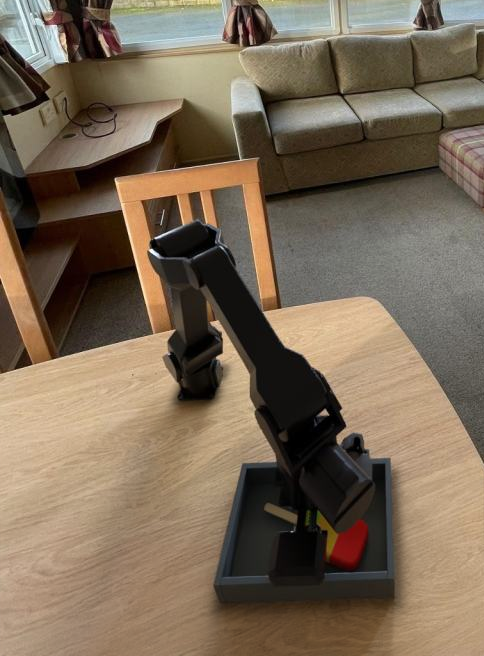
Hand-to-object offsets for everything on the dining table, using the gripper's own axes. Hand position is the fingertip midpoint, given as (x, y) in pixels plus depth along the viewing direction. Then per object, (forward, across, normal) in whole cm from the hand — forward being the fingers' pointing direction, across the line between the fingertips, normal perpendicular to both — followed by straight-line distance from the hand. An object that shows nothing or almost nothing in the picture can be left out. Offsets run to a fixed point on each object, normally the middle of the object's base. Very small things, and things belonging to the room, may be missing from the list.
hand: (311, 525), depth 65 cm
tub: (+2, 0, 0) cm, 2 cm away
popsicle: (+1, 0, 0) cm, 1 cm away
